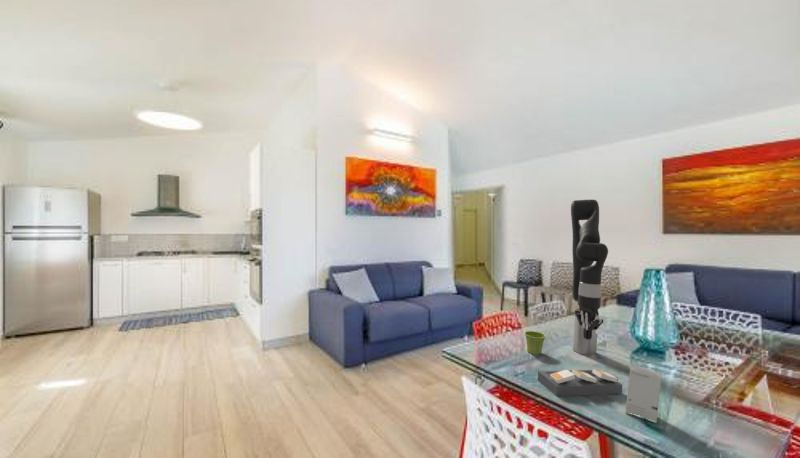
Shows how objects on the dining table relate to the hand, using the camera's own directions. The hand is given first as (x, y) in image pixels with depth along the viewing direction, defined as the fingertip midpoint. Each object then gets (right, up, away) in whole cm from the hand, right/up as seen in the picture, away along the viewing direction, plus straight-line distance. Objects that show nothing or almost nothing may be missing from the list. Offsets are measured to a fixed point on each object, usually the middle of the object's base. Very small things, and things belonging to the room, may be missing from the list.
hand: (587, 338), depth 127 cm
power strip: (-2, -17, -3) cm, 18 cm away
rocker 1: (-13, -12, -7) cm, 19 cm away
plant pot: (-8, -17, +30) cm, 35 cm away
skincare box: (+6, -18, -21) cm, 28 cm away
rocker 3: (+4, -13, -5) cm, 14 cm away
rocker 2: (-5, -12, -6) cm, 14 cm away
